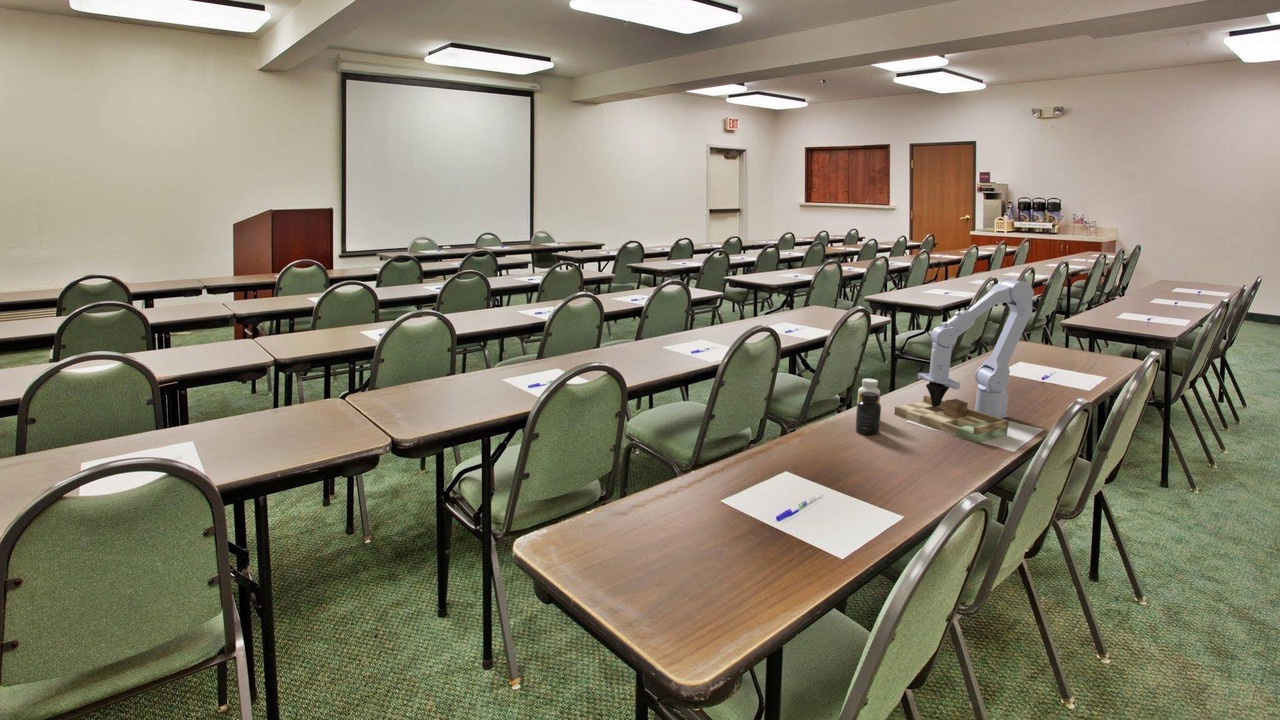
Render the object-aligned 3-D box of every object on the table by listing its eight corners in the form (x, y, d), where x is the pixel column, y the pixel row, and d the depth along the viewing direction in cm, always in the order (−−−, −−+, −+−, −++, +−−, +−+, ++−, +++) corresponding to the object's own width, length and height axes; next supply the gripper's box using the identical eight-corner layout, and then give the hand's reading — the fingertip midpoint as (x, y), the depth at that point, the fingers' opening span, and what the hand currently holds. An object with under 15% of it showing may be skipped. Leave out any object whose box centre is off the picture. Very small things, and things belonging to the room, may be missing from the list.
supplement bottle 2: (859, 427, 217) (862, 389, 214) (881, 431, 213) (885, 392, 210) (851, 433, 211) (854, 394, 208) (875, 437, 207) (878, 398, 205)
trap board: (924, 408, 236) (925, 395, 235) (1006, 435, 210) (1008, 420, 209) (894, 414, 229) (895, 400, 228) (975, 442, 203) (977, 427, 202)
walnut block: (954, 412, 223) (956, 398, 222) (966, 416, 219) (967, 402, 218) (943, 414, 221) (945, 400, 220) (955, 418, 217) (957, 404, 216)
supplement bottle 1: (879, 423, 220) (882, 383, 217) (856, 422, 221) (860, 382, 218) (876, 417, 226) (879, 378, 223) (855, 415, 228) (858, 377, 225)
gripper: (912, 361, 228) (908, 401, 231) (950, 370, 215) (946, 413, 219) (928, 358, 231) (924, 398, 234) (966, 368, 219) (961, 410, 222)
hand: (935, 405), depth 227 cm, fingers closed
